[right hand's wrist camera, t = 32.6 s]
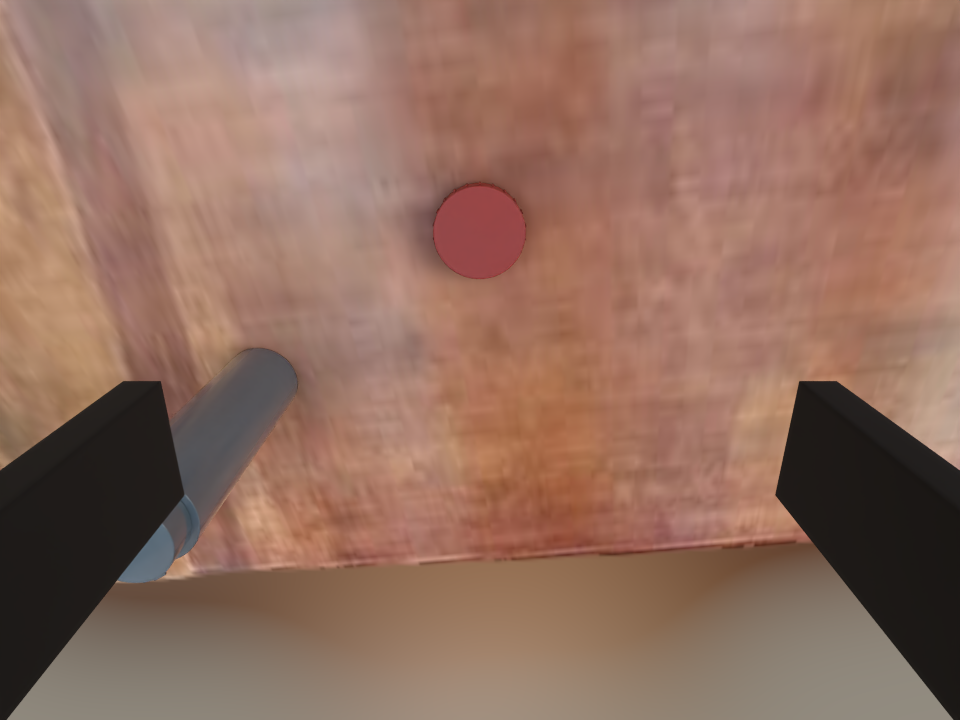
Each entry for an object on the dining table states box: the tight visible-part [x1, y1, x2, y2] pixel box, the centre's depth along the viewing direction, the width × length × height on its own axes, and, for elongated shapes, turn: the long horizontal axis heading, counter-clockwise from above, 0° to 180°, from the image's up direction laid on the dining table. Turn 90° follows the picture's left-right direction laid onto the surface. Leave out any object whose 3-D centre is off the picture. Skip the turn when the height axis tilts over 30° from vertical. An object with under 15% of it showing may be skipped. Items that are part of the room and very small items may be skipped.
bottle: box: [118, 348, 298, 583], centre depth 35 cm, size 5×5×18 cm
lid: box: [433, 182, 526, 279], centre depth 39 cm, size 6×6×2 cm
